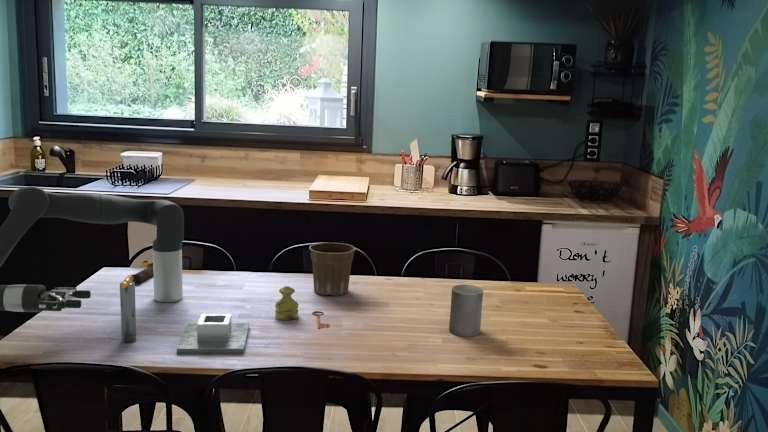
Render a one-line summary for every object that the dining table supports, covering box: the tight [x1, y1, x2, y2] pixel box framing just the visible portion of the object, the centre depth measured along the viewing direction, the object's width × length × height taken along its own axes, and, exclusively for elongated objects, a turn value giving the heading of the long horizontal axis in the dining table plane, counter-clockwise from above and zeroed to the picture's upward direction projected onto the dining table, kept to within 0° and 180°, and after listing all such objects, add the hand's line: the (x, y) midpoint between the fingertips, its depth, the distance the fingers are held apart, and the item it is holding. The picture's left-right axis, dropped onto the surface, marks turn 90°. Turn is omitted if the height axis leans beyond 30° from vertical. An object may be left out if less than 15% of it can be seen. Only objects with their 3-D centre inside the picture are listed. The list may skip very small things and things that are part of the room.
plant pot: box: [308, 242, 356, 297], centre depth 259 cm, size 16×16×16 cm
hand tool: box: [131, 261, 154, 285], centre depth 268 cm, size 19×4×5 cm, turn 167°
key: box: [311, 310, 331, 330], centre depth 231 cm, size 6×1×15 cm
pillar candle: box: [448, 284, 484, 338], centre depth 224 cm, size 10×10×15 cm
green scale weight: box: [274, 285, 299, 321], centre depth 232 cm, size 7×7×10 cm
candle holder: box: [176, 313, 250, 355], centre depth 210 cm, size 20×18×6 cm
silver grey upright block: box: [119, 274, 138, 344], centre depth 207 cm, size 9×4×18 cm, turn 6°
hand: (85, 299), depth 205 cm, fingers open, 8 cm apart
